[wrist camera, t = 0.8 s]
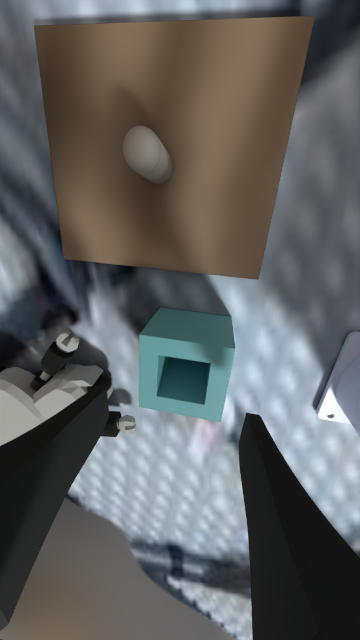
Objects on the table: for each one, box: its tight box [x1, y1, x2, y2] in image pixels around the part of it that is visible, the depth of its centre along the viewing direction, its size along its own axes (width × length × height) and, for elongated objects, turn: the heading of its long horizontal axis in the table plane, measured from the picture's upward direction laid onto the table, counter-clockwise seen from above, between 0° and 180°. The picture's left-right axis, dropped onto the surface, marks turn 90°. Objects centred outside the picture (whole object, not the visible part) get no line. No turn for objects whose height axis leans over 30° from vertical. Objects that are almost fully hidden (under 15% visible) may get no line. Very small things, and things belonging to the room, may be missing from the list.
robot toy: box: [0, 331, 136, 446], centre depth 22 cm, size 12×4×15 cm
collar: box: [139, 307, 235, 422], centre depth 16 cm, size 6×6×5 cm
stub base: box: [34, 16, 315, 280], centre depth 12 cm, size 14×12×5 cm
